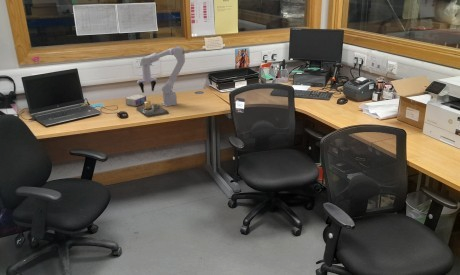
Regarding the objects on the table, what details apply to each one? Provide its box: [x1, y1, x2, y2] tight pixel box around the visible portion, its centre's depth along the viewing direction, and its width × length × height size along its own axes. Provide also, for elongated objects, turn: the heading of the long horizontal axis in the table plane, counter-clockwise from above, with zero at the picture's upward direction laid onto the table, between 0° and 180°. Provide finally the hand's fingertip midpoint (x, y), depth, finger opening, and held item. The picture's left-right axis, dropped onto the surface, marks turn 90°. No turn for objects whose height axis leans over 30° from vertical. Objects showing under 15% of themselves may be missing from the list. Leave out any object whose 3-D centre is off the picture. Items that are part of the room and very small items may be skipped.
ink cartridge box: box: [125, 93, 147, 107], centre depth 298 cm, size 10×6×14 cm
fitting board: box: [135, 103, 170, 118], centre depth 280 cm, size 16×20×4 cm
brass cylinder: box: [144, 100, 152, 110], centre depth 275 cm, size 4×4×7 cm
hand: (147, 91), depth 295 cm, fingers open, 7 cm apart
